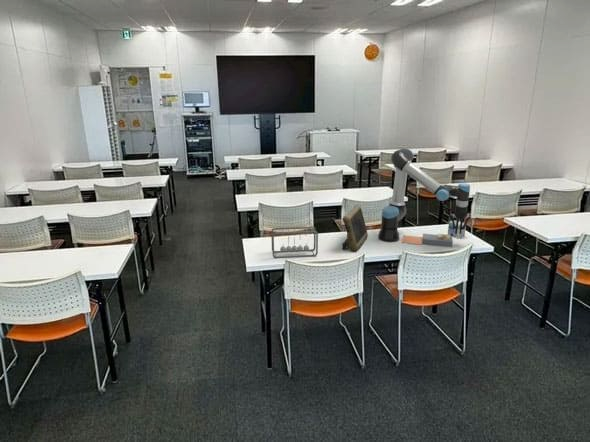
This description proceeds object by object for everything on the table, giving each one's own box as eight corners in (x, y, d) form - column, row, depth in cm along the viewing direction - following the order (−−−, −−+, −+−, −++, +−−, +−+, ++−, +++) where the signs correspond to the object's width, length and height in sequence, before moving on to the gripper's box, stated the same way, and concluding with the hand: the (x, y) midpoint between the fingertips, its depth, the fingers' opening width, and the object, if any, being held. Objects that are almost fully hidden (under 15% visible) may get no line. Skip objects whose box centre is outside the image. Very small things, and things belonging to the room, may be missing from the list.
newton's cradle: (315, 250, 275) (315, 226, 269) (317, 256, 265) (318, 231, 260) (271, 252, 272) (271, 227, 266) (272, 258, 262) (272, 233, 257)
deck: (422, 244, 285) (422, 239, 283) (422, 238, 296) (422, 233, 294) (452, 247, 279) (452, 241, 278) (451, 241, 290) (451, 236, 288)
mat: (401, 243, 287) (401, 242, 287) (403, 235, 301) (403, 235, 301) (422, 245, 283) (422, 244, 283) (422, 237, 297) (422, 237, 297)
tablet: (360, 253, 270) (362, 218, 262) (340, 250, 274) (341, 216, 266) (368, 237, 299) (369, 205, 292) (349, 235, 304) (351, 203, 296)
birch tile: (437, 239, 283) (437, 236, 283) (437, 236, 289) (437, 233, 288) (449, 240, 281) (449, 237, 280) (449, 237, 286) (449, 234, 286)
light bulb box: (447, 235, 302) (448, 221, 299) (451, 233, 306) (453, 219, 303) (460, 238, 294) (462, 225, 291) (464, 236, 299) (466, 223, 295)
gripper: (451, 206, 273) (447, 238, 280) (472, 208, 269) (467, 240, 277) (451, 203, 280) (447, 235, 287) (471, 205, 276) (466, 237, 283)
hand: (457, 238), depth 282 cm, fingers closed
